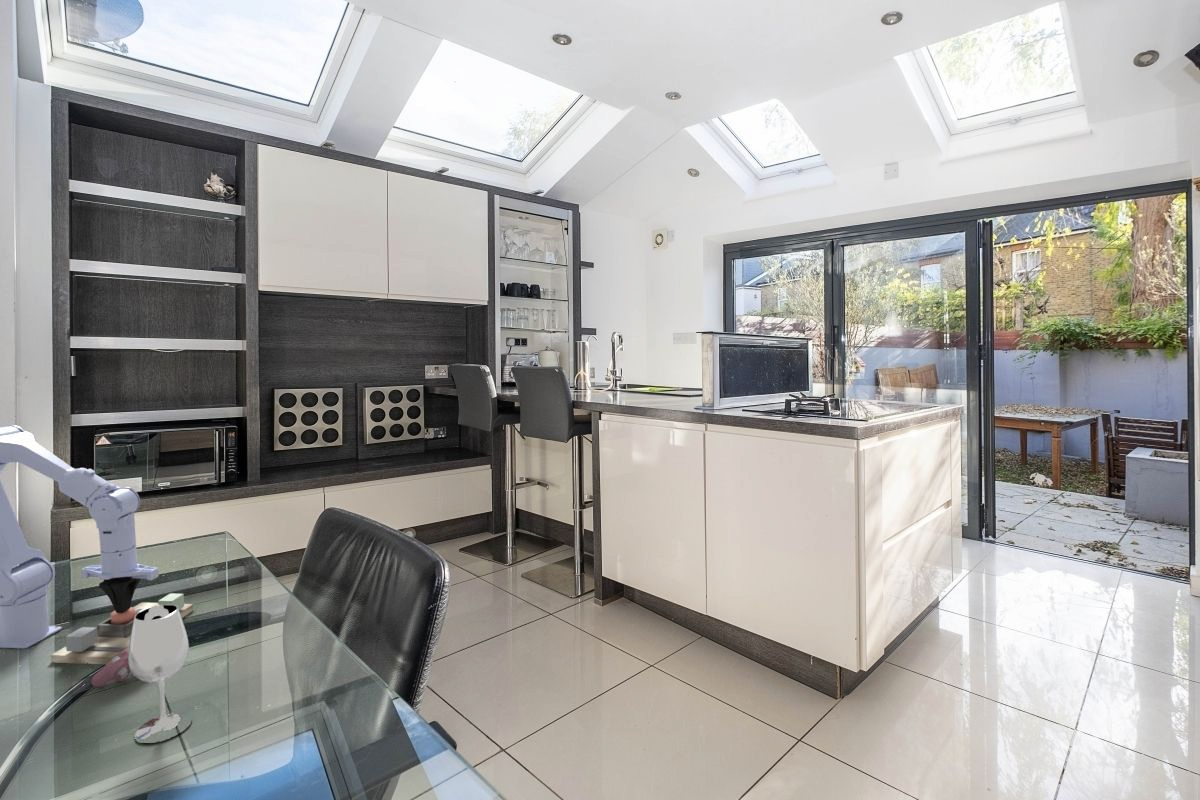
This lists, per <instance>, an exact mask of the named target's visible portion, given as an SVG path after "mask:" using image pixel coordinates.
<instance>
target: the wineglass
mask: <svg viewBox="0 0 1200 800" xmlns="http://www.w3.org/2000/svg"><path fill="white" fill-rule="evenodd" d="M189 643H190V642H189V638H188V634H187V630H186V627H185V624H184V621H183V618H181V615H180V612H179V610H178V607H177V606H175V605H171V604H166V605H158V606H153V607H150V608H147V609H144V610H142V611H140V612H139V613H137V614H136V615H135V618H134V622H133V627H132V632H131V637H130V643H129V649H128V665H129V669H130V671H131V673H130V674H131V675H132V676H133V677H135V678H136V679H137V680H140V681H142V682H146V683H155V684H156V686H157V689H158V697H159V712H160V713H159V714H160V715H159V716H160V717H159V718H156V717H154V718H152V719H150V720H148V721H146V722H145V723H144V724H142V725H141V726H139V728H138V729H136V731H135V732H134V737H135V738H134V740H135V739H145V738H147V737H149V736H150V735H151V734H154V733H156V732H159V731H166V730H171V729H172V728H175V727H176V726H177V725H178V722H179V721H180V719H181V718H180V717H179V715H178V714H175V713H173V712H170V713H171V714H168V713H167V712H166V698H165V684H166V680H168V679H170V678H172V677H173V676H174V675H175V674H177V673H178V672H179V671H180V670H181V669H182V668H183V666H184V665H185V663H186V661H187V659H188V657H189V654H190V652H189V651H190V644H189ZM166 714H168V715H166Z"/></svg>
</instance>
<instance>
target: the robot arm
mask: <svg viewBox="0 0 1200 800" xmlns="http://www.w3.org/2000/svg"><path fill="white" fill-rule="evenodd" d="M35 440H36V438H35V436H34V434H32V433H31V432H28V431H27V430H25V429H24V428H22V427H21V426H19V425H15V424H6V425H2V426H0V474H1V473H2V471H4V468H5V467H6V466H7V465H8V464H9V463H19V464H22V465H24V466H26V467H28V468H30V469H32V470H33V471H35V472H38V473H40V474H41V475H43V476H45V477H48V478H49V479H52V481H55V482H57V483H58V491H59V492H61V493H63V494H64V495H66V496H67V497H70V498H71V499H73V500H75V501H76V502H78V503H80V504H81V505H82V506H84V507H86V508H88V513H89V516H90V517H91V518H92V519H93V520H94V521H95V523H96V529H98V538H99V548H100V549H99V550H100V563H101V564H99V565H96V564H95V565H88V566H85V567H83V568H81V578H82V579H89V578H99V579H100V580H103V581H101V582H98V583H99V584H98V587H99V588H100V589H101V590H102V591H103V592H104V593H105V594H106V596H107V597H108V599H109V600H110V602H111V604H112V606H113V608H114V611H116V613H123V612H125V611H127V610H128V609H130V607H132V600H133V597H134V594H135V591H136V589H137V587H138V585H139V583H140V582H141V580H142V579H146V580H147V581H153V580H155V579H157V578H158V577H159V576H160V575H159V567H154V566H150V565H145V564H140V563H138V552H137V551H138V550H137V537H136V522H135V521H136V520H135V512H136V511H138V509H139V507H140V505H141V498H140V495H139V494H138V492H136V490H134V489H133V488H132V487H129V486H118V485H116V484H114V483H113V482H112V483H111V482H110V481H108V480H106V479H104V478H103V477H100V476H99V475H97V474H96V471H95V470H94V469H92V468H88V469H87V467H86V468H85V467H80V468H79V467H78V468H74V467H72V466H71V465H70V464H68V463H67V462H65V461H64V460H62V459H61V458H59V457H58V456H56V455H55V454H54V453H53V452H51V451H50V450H49V449H46V448H45V447H44V446H42V445H41V444H40V443H38V442H36V441H35ZM13 509H14V508H13V507H12V505H11V502H10V500H9V498H8V496H7V493H6V491H5V489H4V486H3V483H2V481H1V480H0V648H1V649H28V648H30V647H31V646H33V645H35V644H37V643H38V642H41V641H42V640H44V639H46V638H48V637H50V636H51V635H53V634H56V633H57V632H59V631H61V630H62V626H55V625H54V626H53V625H52V626H51V625H50V618H49V608H48V597H47V591H48V590H49V588H50V587H49V584H51V583H52V582H53V581H54V579H55V576H56V570H55V569H56V568H55V567H54V565H53V564H52V562H50V561H49V560H48V559H47V558H46V557H45V555H44V553H43V551H42V550H40V549H37V548H35V547H34V548H33V547H30V546H28V543H27V540H26V538H25V536H24V533H23V531H22V529H21V526H20V523H19V522H18V520H17V517H16V515H15V512H14V510H13Z"/></svg>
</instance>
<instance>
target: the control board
mask: <svg viewBox="0 0 1200 800" xmlns="http://www.w3.org/2000/svg"><path fill="white" fill-rule="evenodd" d="M153 606H158V602H140V603H138V604H137V605H135V606H133V608H135V612H136V614H137V613H139V612H140V611H142V610H144V609H147V608H150V607H153ZM194 609H195V608H194V603H184V607H183V608H181V609H180V610H179V612H180V615H181V618H182V619H183V618H184V617H186V616H188V615H189V614H190V613H192V612H193V611H194ZM133 622H134V620H132V621H131V622H129V623H127V624H124V625H122V624H111V616H110V617H109V618H106V619H105V620H103V621H102V622H100V623H98V624H97V625H96V628H97V634H98V642H97V643H95V644H94V645H92V646H90V647H89V648H87V649H85V650H84V651H82V652H76V651H67V650H66V645H65V646H64V647H62V648H61V649H59V650H56V651H55V652H54V653H51V654H50V662H51V663H52V662H55V664H57V663H58V664H81V665H82V664H83V665H84V664H85V665H86V664H87V663H88V664H87V665H90V664H91V665H106V663H108V662H110V661H111V660H112V659H113V658H114V657H116V656H118V655H119V654H121V653H122V652H123V651H124V650H125V649H126V648H128V647H129V643H130V637H131V632H132V627H133Z"/></svg>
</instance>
